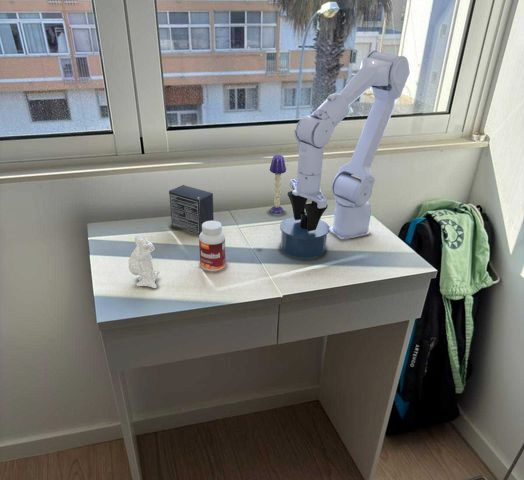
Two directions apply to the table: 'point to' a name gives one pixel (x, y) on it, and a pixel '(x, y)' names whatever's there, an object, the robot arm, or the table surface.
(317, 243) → the bowl
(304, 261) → the table surface
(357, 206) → the robot arm
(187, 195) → the small box
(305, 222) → the lid
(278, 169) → the toy lamp
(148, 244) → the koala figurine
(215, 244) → the pill bottle
